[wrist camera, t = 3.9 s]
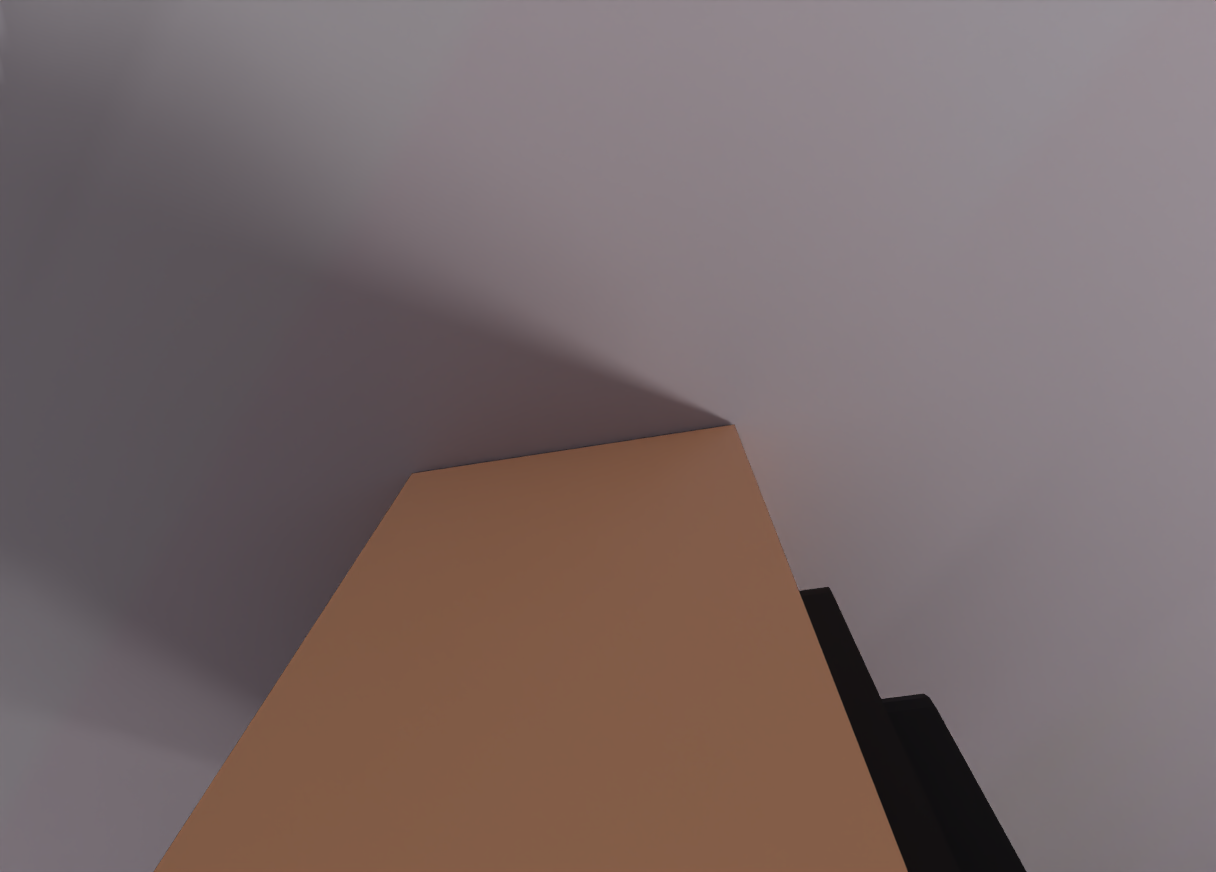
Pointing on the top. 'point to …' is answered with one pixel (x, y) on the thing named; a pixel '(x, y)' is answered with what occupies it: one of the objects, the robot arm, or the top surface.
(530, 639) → the scraper tool
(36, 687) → the top surface
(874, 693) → the robot arm
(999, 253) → the top surface
